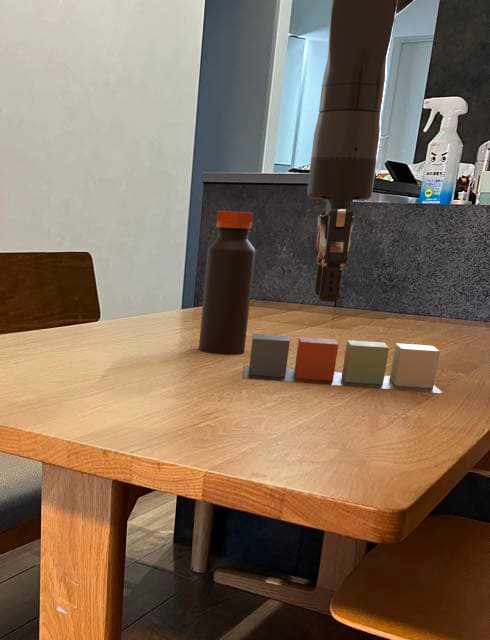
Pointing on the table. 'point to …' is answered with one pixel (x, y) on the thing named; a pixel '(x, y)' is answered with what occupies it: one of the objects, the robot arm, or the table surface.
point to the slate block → (269, 355)
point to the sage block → (365, 362)
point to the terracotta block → (316, 359)
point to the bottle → (227, 286)
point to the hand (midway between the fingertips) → (325, 298)
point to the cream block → (414, 365)
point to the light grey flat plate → (338, 382)
